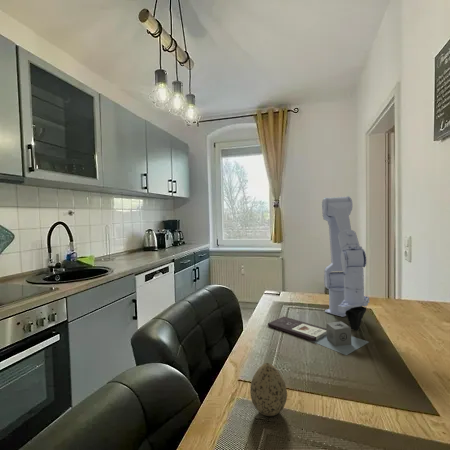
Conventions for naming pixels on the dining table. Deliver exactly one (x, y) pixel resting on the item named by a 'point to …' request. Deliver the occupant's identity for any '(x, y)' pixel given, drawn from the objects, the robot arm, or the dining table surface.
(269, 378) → the decorative egg
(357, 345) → the mat
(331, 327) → the light grey cube
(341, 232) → the robot arm
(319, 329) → the chocolate bar
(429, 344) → the dining table surface
